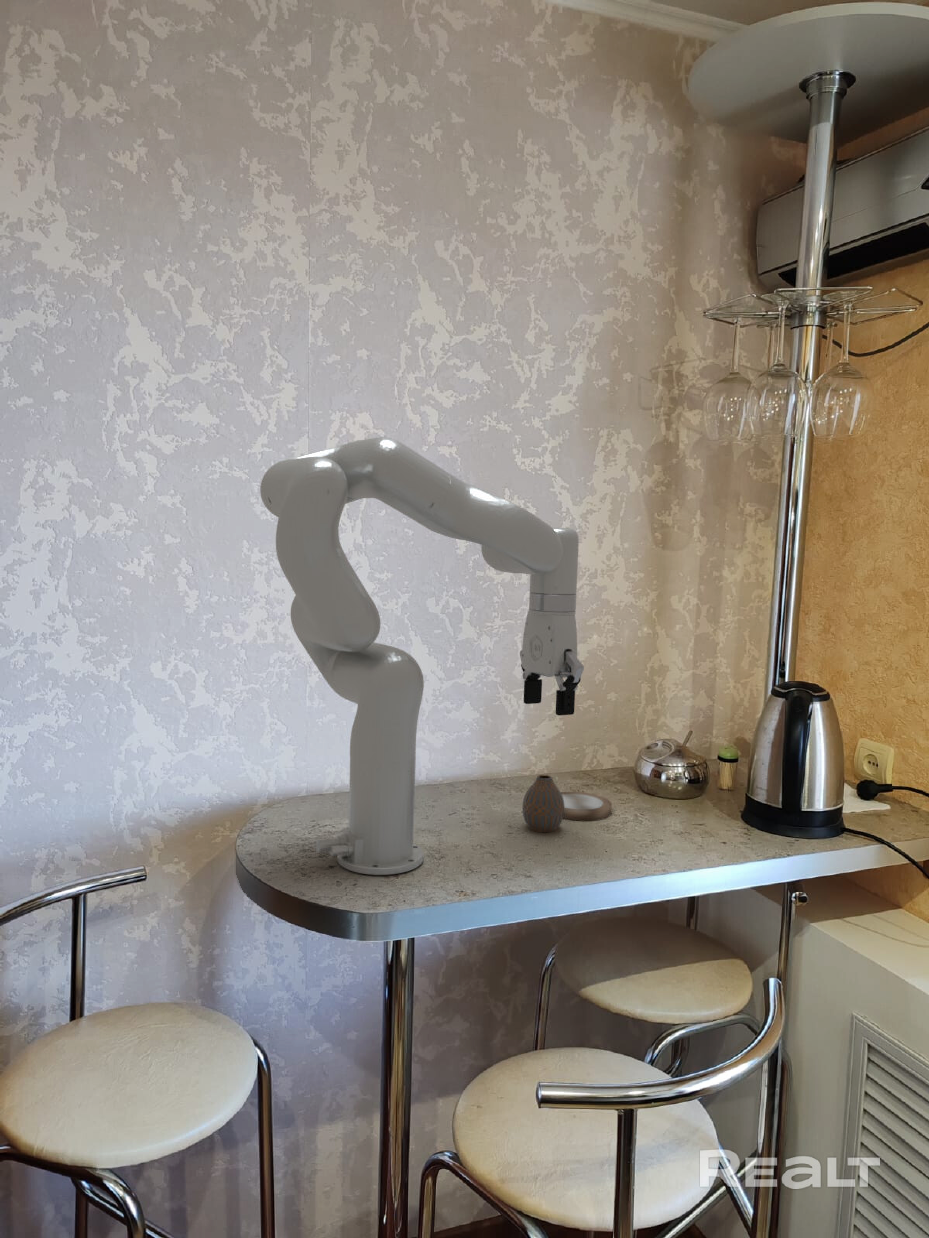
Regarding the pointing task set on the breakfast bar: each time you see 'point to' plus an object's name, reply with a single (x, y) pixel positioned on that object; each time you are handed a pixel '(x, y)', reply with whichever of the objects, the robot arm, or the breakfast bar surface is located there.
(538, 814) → the vase
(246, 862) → the breakfast bar surface
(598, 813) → the stand
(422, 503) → the robot arm
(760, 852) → the breakfast bar surface
